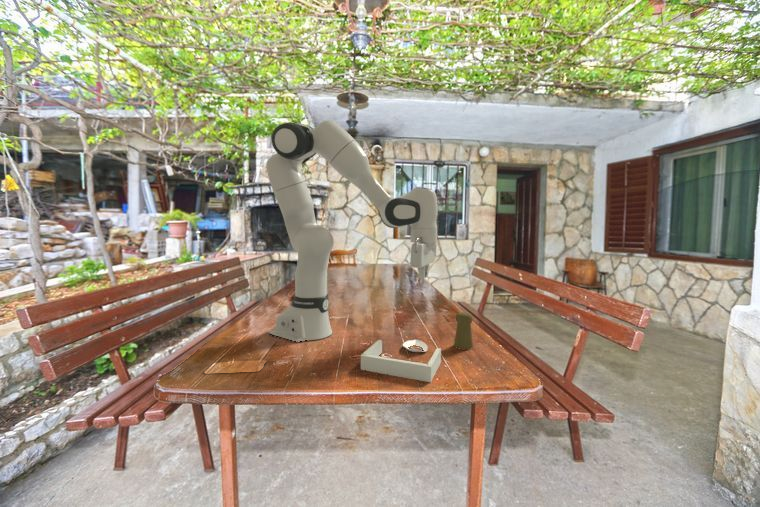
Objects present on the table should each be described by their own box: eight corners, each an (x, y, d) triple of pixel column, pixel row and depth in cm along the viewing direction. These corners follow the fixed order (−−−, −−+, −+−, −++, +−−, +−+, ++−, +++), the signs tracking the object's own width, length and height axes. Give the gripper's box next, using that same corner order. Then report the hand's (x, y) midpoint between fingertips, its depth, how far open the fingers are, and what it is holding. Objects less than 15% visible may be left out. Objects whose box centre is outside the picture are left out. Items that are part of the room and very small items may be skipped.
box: (360, 369, 88) (360, 355, 87) (378, 352, 100) (378, 339, 99) (430, 382, 81) (431, 366, 80) (440, 362, 93) (441, 348, 92)
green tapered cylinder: (473, 350, 101) (474, 316, 100) (454, 349, 102) (454, 314, 101) (472, 343, 107) (473, 310, 106) (453, 342, 108) (454, 309, 107)
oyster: (400, 354, 97) (401, 346, 97) (404, 343, 109) (404, 335, 109) (426, 358, 96) (427, 349, 96) (427, 346, 108) (428, 338, 108)
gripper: (425, 238, 98) (425, 283, 99) (439, 236, 117) (438, 274, 118) (405, 238, 100) (405, 282, 101) (422, 235, 119) (421, 273, 120)
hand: (423, 277), depth 110 cm, fingers open, 2 cm apart
